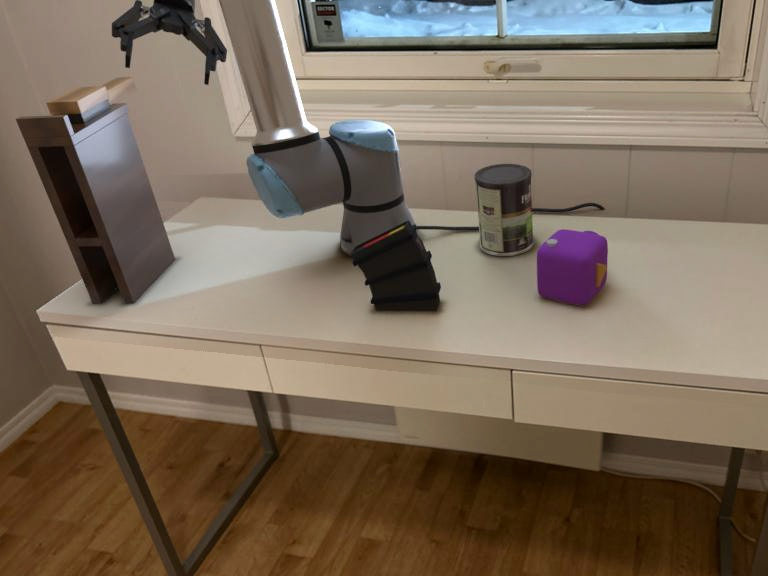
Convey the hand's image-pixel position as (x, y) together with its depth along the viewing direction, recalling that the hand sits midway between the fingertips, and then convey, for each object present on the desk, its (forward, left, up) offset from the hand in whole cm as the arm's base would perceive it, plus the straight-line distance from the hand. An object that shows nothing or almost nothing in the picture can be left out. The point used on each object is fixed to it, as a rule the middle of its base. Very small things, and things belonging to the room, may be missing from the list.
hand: (168, 70), depth 139 cm
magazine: (-46, +31, -33) cm, 64 cm away
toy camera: (-75, +25, -33) cm, 85 cm away
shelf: (+7, +20, -33) cm, 39 cm away
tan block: (+7, +13, -3) cm, 15 cm away
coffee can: (-62, +8, -33) cm, 70 cm away
